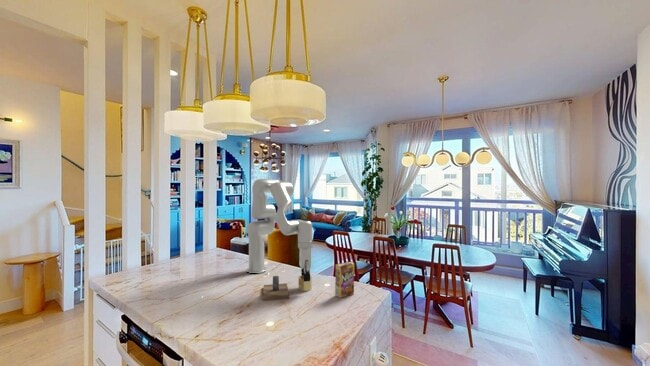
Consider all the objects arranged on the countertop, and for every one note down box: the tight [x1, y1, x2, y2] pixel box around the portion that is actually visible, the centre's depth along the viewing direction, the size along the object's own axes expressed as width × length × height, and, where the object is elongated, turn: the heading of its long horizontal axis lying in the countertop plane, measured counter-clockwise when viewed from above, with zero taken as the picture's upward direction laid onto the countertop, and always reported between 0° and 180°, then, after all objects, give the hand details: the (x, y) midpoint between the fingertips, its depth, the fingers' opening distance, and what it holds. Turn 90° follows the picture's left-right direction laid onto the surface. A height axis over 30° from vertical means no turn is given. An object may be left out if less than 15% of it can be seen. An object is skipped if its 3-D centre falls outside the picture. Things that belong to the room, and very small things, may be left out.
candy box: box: [334, 261, 355, 299], centre depth 127 cm, size 9×4×15 cm, turn 123°
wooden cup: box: [297, 275, 313, 292], centre depth 135 cm, size 7×7×6 cm
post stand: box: [262, 275, 290, 301], centre depth 130 cm, size 16×12×8 cm
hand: (305, 278), depth 134 cm, fingers open, 9 cm apart
